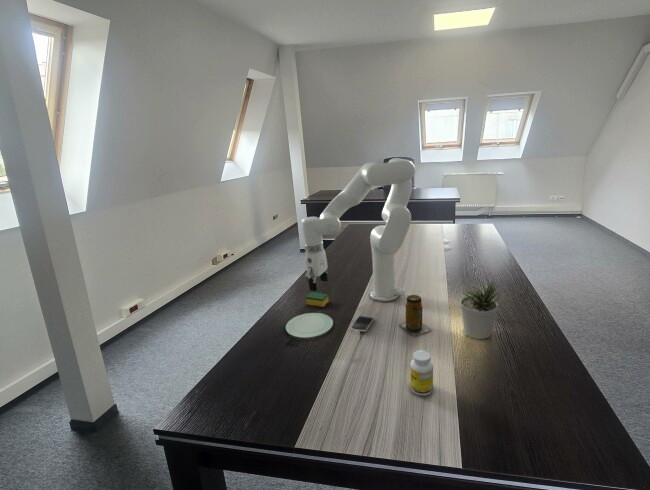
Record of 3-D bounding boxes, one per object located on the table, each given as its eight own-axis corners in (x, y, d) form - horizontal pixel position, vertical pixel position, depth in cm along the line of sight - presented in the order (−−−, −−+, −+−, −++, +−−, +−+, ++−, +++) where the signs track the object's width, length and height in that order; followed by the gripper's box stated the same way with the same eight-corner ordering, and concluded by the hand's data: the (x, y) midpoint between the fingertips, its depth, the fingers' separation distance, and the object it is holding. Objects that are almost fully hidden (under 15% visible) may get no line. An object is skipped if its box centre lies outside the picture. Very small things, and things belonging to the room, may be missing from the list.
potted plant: (480, 348, 119) (483, 293, 113) (451, 330, 130) (452, 278, 125) (507, 337, 124) (511, 284, 118) (476, 320, 136) (479, 271, 130)
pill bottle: (408, 382, 105) (407, 349, 102) (429, 380, 105) (429, 347, 102) (413, 397, 99) (413, 363, 96) (435, 395, 99) (436, 360, 96)
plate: (340, 319, 142) (340, 316, 142) (319, 344, 126) (319, 341, 126) (301, 312, 149) (300, 310, 148) (276, 335, 133) (276, 332, 132)
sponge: (328, 303, 155) (328, 294, 154) (323, 309, 150) (322, 299, 149) (312, 301, 158) (311, 292, 157) (306, 306, 153) (305, 297, 152)
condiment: (416, 320, 138) (416, 291, 134) (430, 330, 131) (430, 300, 127) (400, 325, 135) (399, 296, 131) (413, 336, 128) (413, 305, 124)
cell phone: (349, 332, 133) (349, 328, 132) (360, 317, 142) (360, 314, 142) (365, 334, 130) (365, 331, 130) (375, 319, 140) (375, 316, 140)
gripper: (312, 255, 138) (317, 295, 143) (331, 241, 153) (335, 278, 158) (295, 254, 141) (301, 294, 146) (315, 240, 156) (320, 276, 161)
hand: (319, 285), depth 152 cm, fingers open, 9 cm apart
